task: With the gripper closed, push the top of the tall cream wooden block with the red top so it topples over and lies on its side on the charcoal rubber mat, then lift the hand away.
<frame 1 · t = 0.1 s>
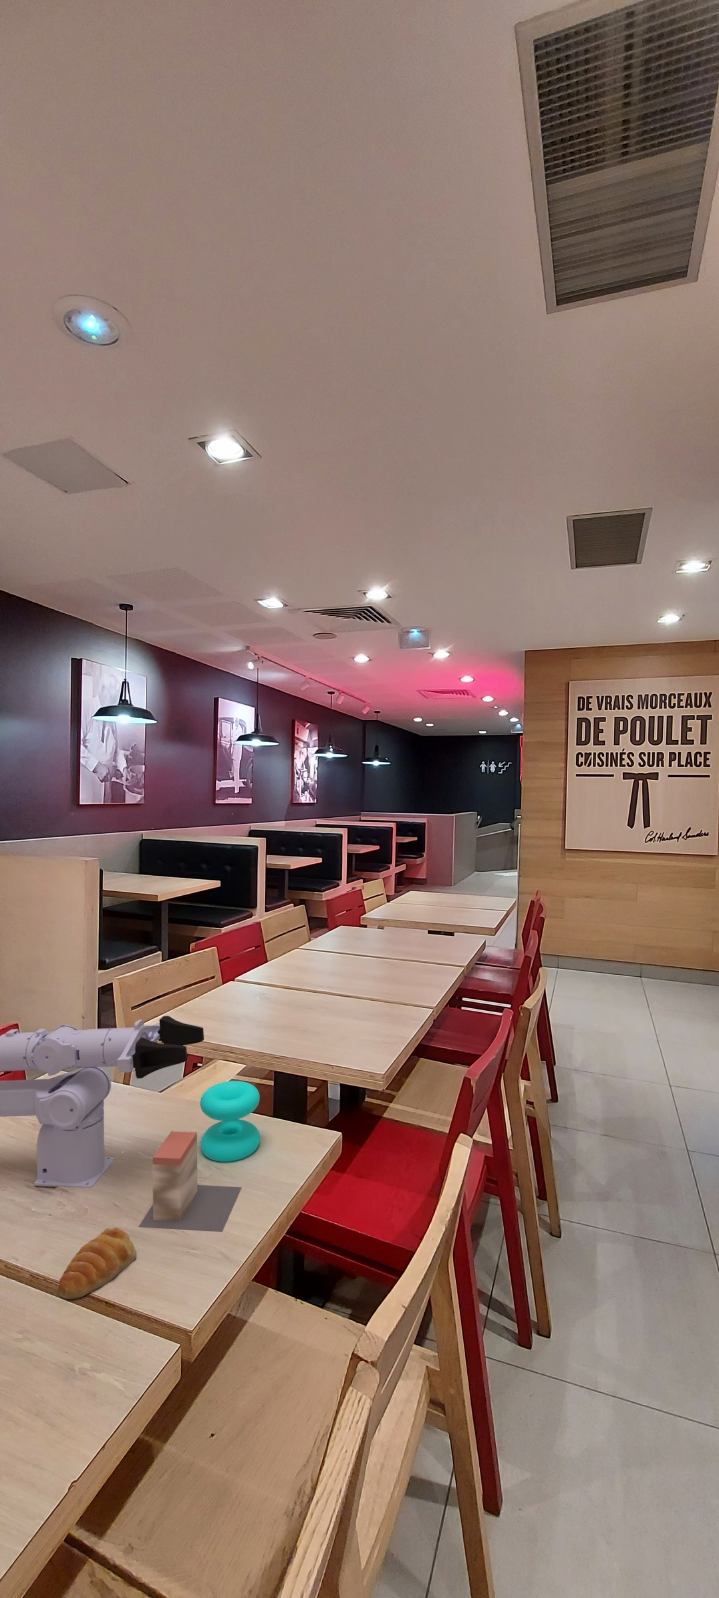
hand: (194, 1044, 102), 22 cm above the table, tool horizontal, fingers open, 7 cm apart
donuts: (230, 1150, 111), on the table
block: (176, 1205, 95), resting on mat
pastry: (99, 1275, 83), on the table
mat: (192, 1208, 95), on the table
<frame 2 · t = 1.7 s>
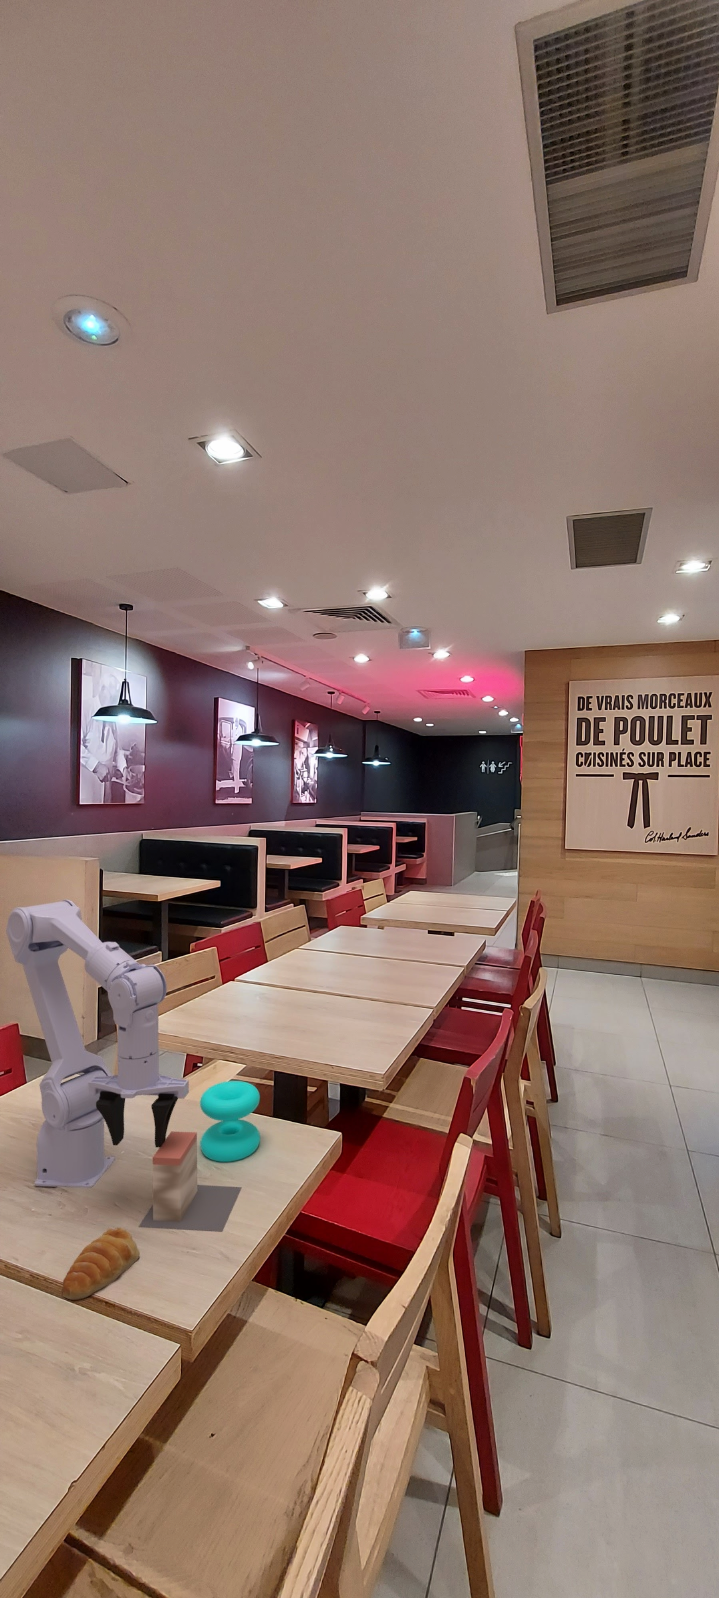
hand: (139, 1143, 96), 9 cm above the table, tool pointing down, fingers open, 6 cm apart
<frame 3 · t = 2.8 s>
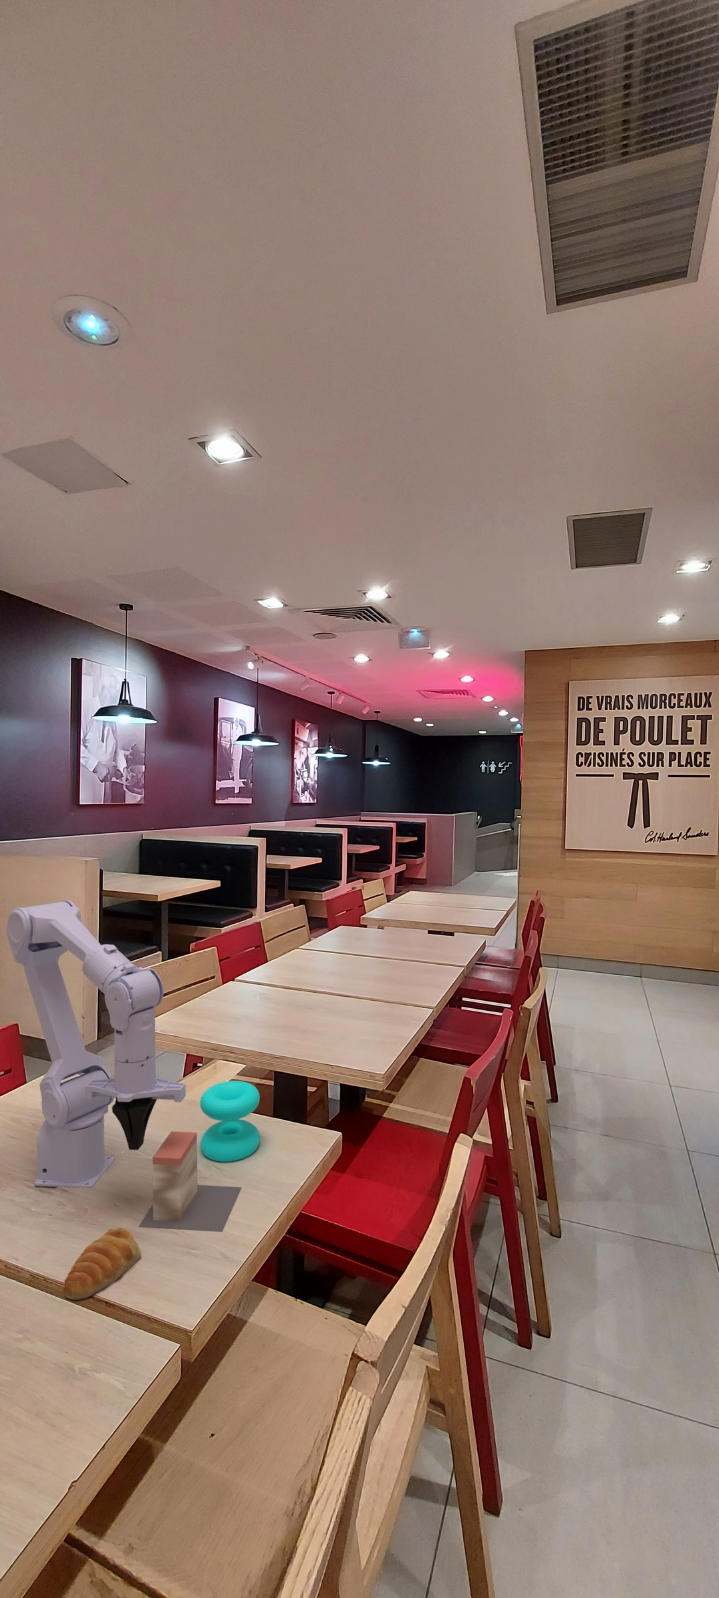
hand: (136, 1146, 96), 9 cm above the table, tool pointing down, fingers closed
nothing on the table moved.
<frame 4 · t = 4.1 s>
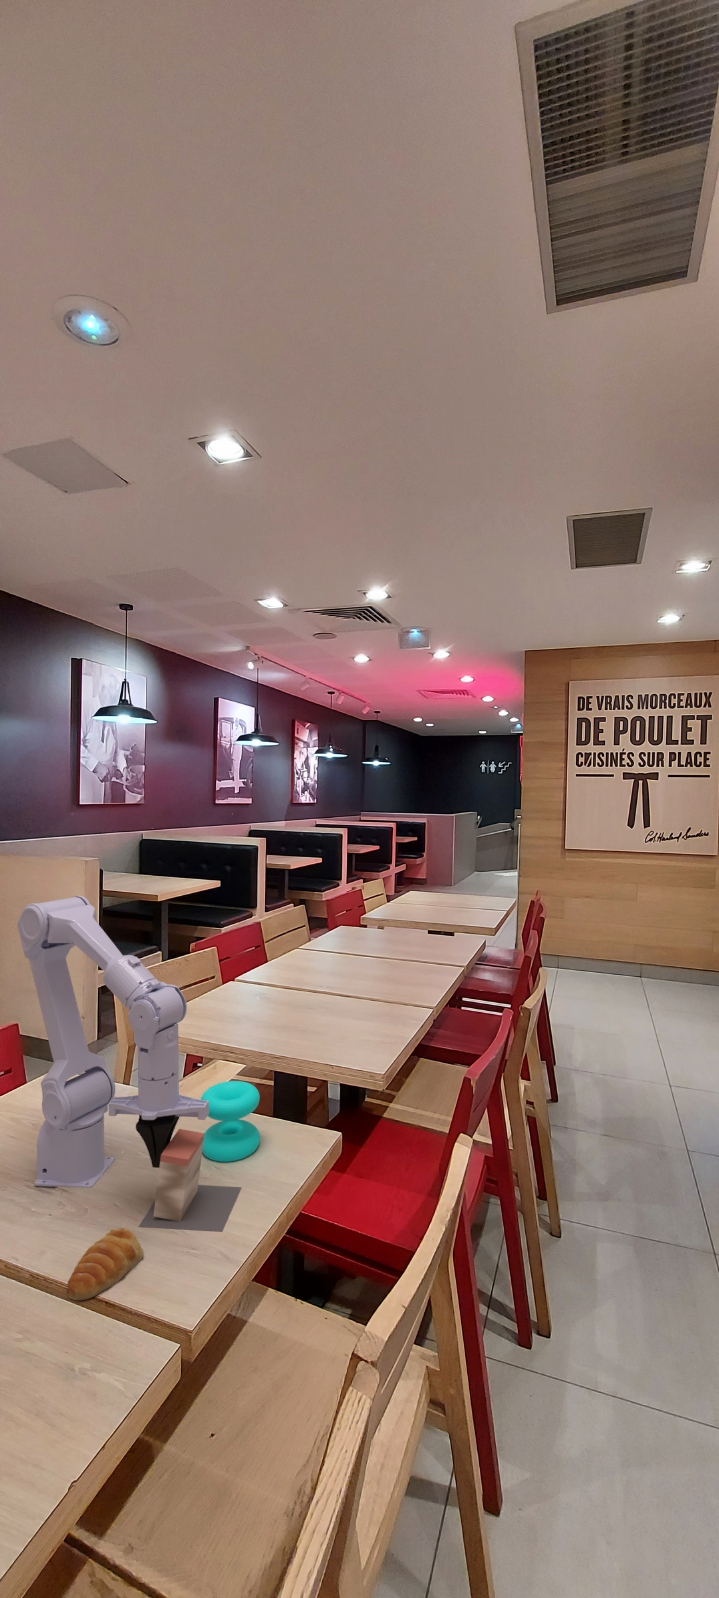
hand: (159, 1164, 95), 6 cm above the table, tool pointing down, fingers closed
block: (176, 1203, 95), point 1 cm above the table, tilted 8°, touching mat
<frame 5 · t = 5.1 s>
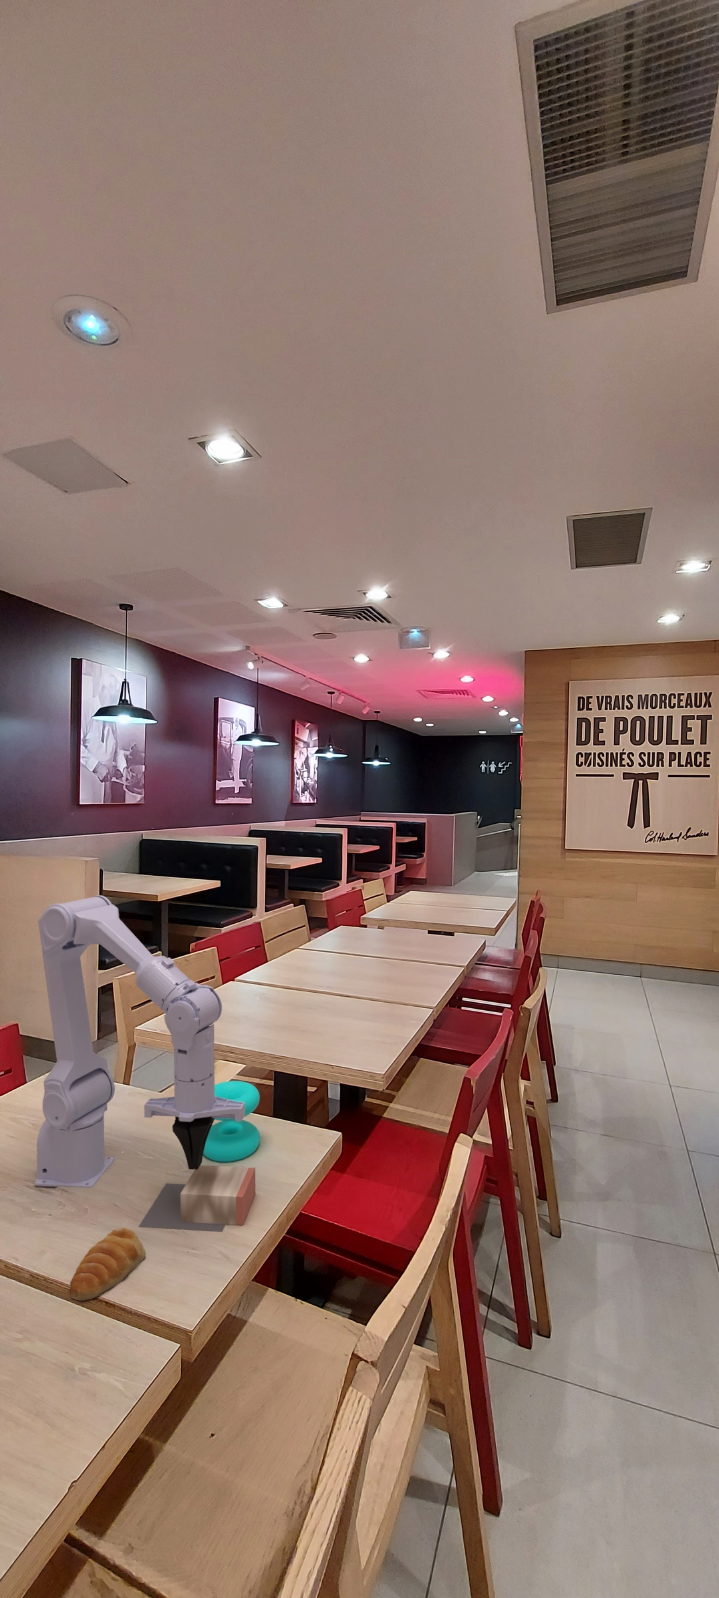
hand: (195, 1165, 95), 6 cm above the table, tool pointing down, fingers closed
block: (189, 1192, 95), point 2 cm above the table, tilted 90°, touching mat
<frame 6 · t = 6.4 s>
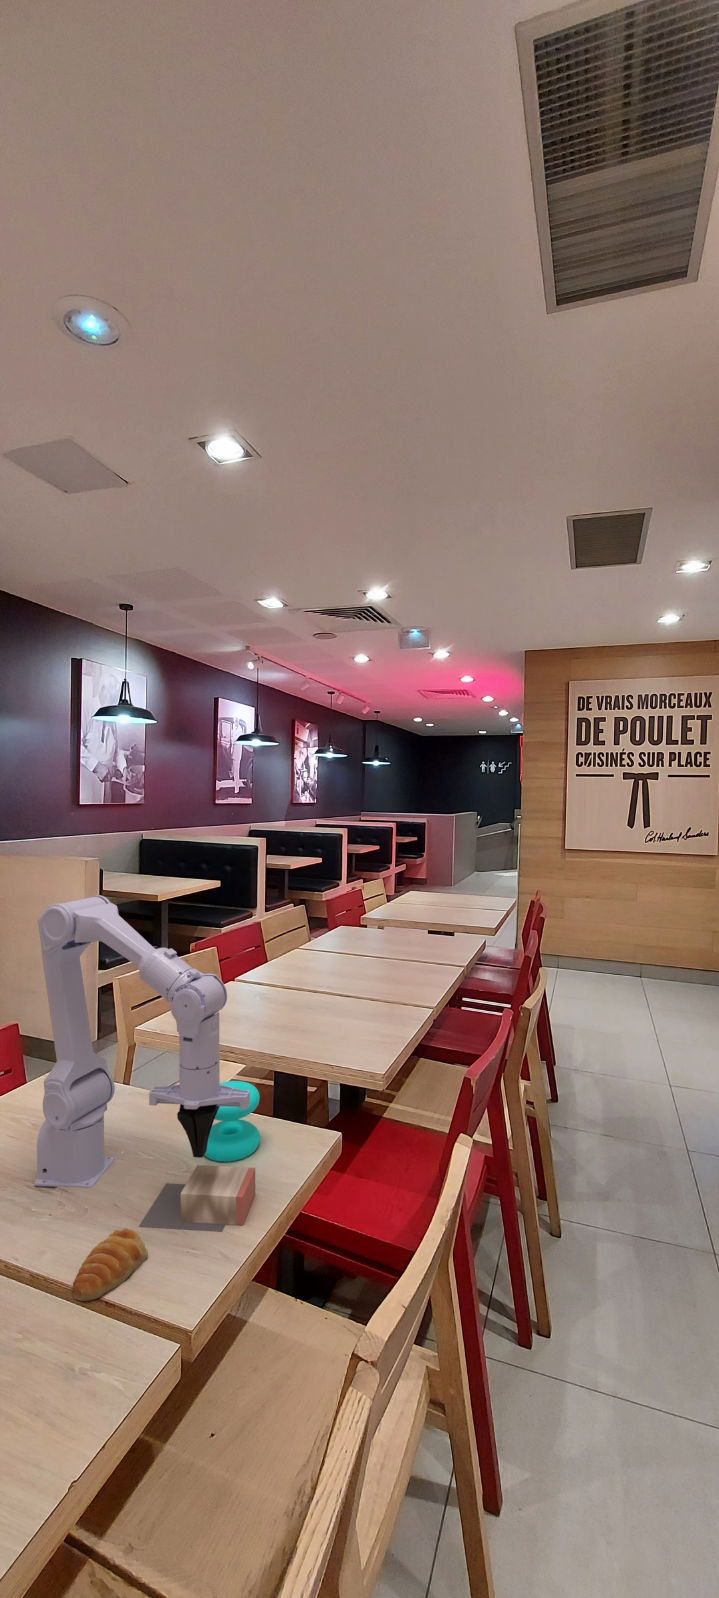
hand: (199, 1153, 95), 8 cm above the table, tool pointing down, fingers closed
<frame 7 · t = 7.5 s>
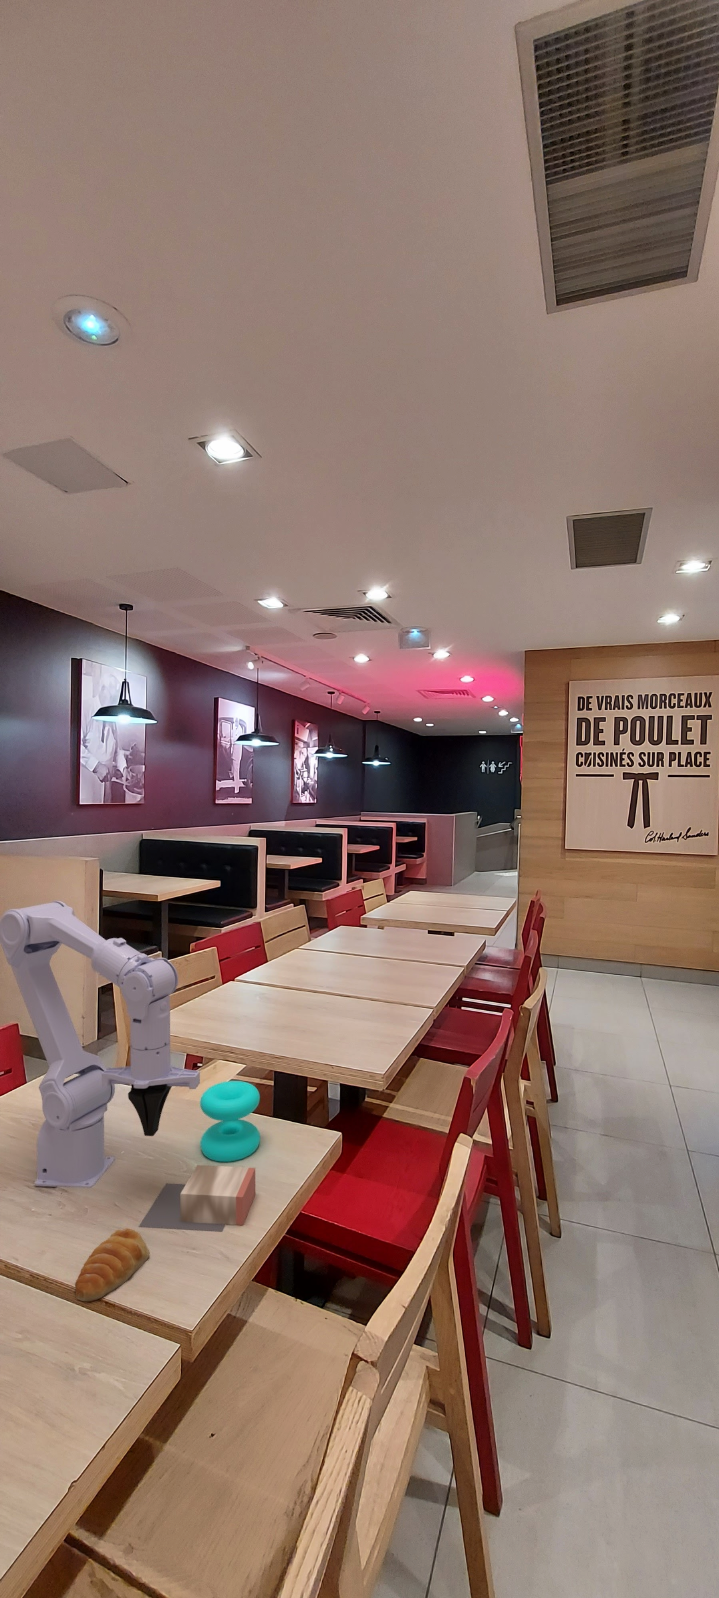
hand: (151, 1132, 97), 10 cm above the table, tool pointing down, fingers closed
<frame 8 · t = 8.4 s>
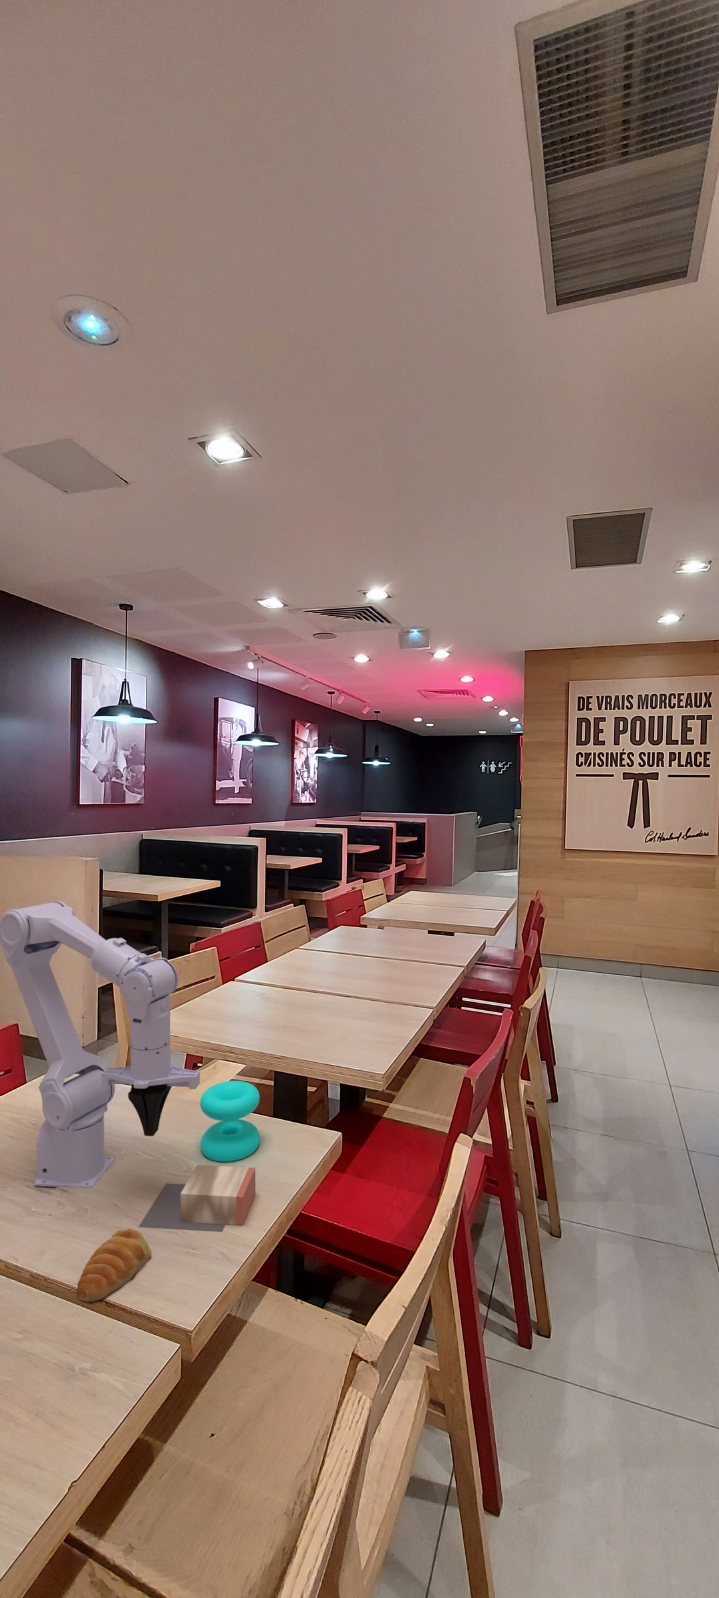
hand: (151, 1132, 97), 10 cm above the table, tool pointing down, fingers closed
at the end: block tilted 90°; block inside the target area on the mat (0.8 cm from its centre), point 2.4 cm above the mat's base; block touching mat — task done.
